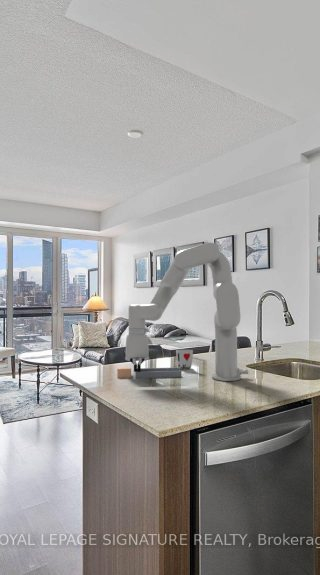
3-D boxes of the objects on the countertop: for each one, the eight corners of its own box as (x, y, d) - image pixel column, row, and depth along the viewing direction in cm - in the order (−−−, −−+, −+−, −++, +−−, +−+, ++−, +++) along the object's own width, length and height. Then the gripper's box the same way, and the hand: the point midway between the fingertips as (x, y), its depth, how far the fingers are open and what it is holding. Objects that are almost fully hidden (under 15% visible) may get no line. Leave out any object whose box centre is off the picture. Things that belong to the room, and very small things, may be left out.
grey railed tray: (179, 375, 173) (178, 367, 173) (181, 379, 164) (181, 371, 164) (135, 376, 171) (135, 368, 171) (135, 380, 162) (135, 372, 163)
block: (131, 366, 169) (117, 366, 169) (131, 368, 164) (117, 369, 164) (131, 377, 169) (117, 378, 169) (131, 380, 164) (117, 380, 164)
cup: (174, 372, 180) (174, 351, 180) (178, 369, 188) (178, 349, 188) (191, 373, 177) (190, 352, 178) (194, 370, 185) (194, 349, 185)
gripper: (153, 331, 172) (153, 371, 171) (120, 331, 171) (120, 372, 170) (154, 332, 164) (154, 374, 164) (119, 333, 163) (120, 375, 163)
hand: (137, 373), depth 167 cm, fingers closed
